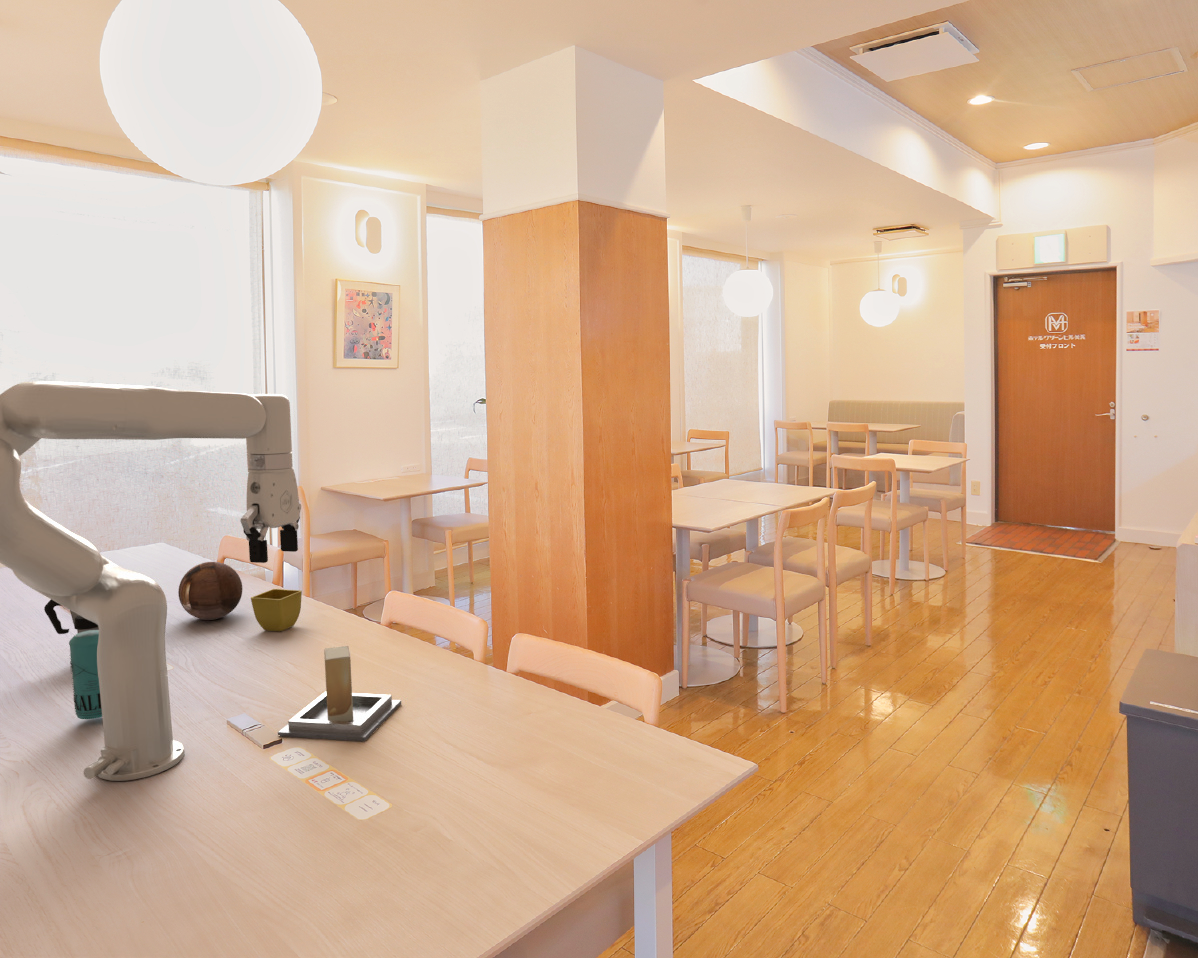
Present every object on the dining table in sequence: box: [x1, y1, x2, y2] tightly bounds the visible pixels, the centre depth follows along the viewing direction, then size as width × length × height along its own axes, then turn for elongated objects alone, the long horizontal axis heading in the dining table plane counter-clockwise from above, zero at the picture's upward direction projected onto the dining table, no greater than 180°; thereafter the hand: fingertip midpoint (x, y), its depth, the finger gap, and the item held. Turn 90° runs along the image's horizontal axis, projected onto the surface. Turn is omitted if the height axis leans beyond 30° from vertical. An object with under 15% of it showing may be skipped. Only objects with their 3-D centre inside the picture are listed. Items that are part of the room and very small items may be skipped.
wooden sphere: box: [177, 561, 243, 621], centre depth 209 cm, size 15×15×15 cm
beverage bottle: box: [68, 615, 102, 720], centre depth 146 cm, size 6×7×20 cm
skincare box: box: [323, 645, 353, 721], centre depth 145 cm, size 6×4×12 cm
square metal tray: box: [277, 691, 402, 743], centre depth 147 cm, size 16×16×2 cm
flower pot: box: [250, 588, 303, 633], centre depth 200 cm, size 9×9×9 cm
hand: (274, 556), depth 146 cm, fingers open, 9 cm apart
